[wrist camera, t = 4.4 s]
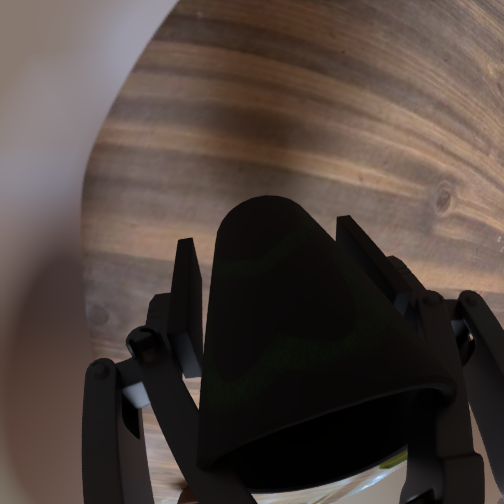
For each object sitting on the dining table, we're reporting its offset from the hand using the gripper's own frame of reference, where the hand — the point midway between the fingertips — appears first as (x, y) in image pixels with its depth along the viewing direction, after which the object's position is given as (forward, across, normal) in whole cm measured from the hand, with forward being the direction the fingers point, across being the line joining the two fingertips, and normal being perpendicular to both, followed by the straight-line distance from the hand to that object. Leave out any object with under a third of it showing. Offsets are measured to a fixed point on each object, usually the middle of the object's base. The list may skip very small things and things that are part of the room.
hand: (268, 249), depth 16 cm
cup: (+1, 0, 0) cm, 1 cm away
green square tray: (+3, +31, -71) cm, 78 cm away
